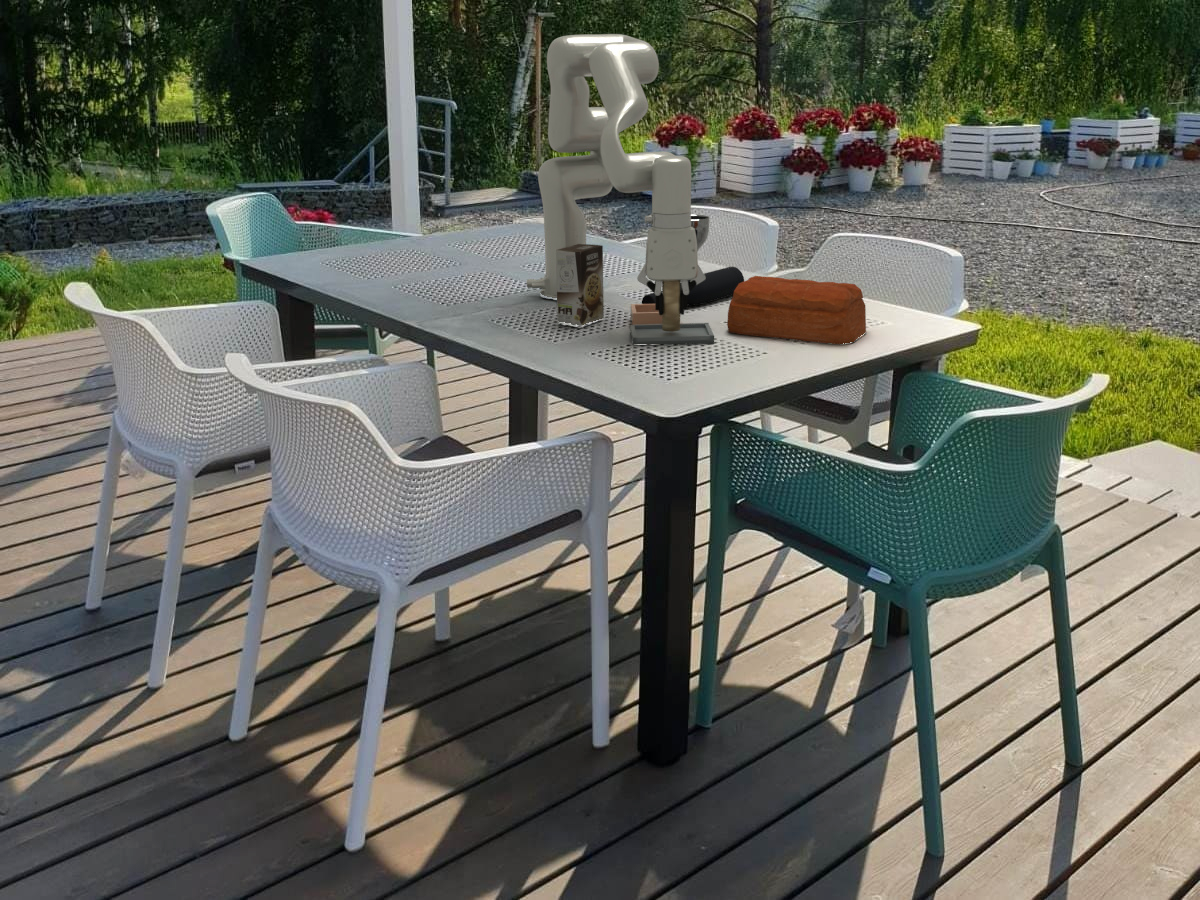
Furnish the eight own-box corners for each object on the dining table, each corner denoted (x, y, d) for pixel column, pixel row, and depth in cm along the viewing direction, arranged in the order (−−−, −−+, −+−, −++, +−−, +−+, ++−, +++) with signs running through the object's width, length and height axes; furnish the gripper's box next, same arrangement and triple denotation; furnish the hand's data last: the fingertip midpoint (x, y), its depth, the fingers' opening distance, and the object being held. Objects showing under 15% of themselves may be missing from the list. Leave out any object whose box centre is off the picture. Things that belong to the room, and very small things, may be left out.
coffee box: (582, 329, 257) (580, 251, 252) (556, 325, 260) (554, 249, 255) (605, 320, 264) (604, 244, 259) (580, 316, 268) (578, 242, 262)
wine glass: (672, 280, 302) (672, 219, 297) (682, 274, 309) (682, 214, 304) (703, 282, 299) (703, 220, 294) (712, 276, 306) (713, 215, 301)
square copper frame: (633, 328, 256) (632, 313, 255) (630, 318, 265) (630, 304, 264) (674, 327, 257) (674, 312, 256) (670, 318, 265) (671, 303, 264)
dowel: (662, 331, 246) (663, 277, 242) (661, 327, 250) (661, 273, 246) (681, 331, 246) (681, 276, 243) (679, 327, 250) (679, 273, 246)
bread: (847, 348, 239) (850, 294, 235) (720, 335, 251) (721, 283, 247) (871, 331, 252) (874, 279, 248) (749, 318, 264) (750, 269, 260)
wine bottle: (749, 285, 283) (664, 309, 262) (731, 299, 287) (646, 323, 267) (735, 261, 283) (649, 283, 263) (718, 275, 288) (632, 298, 268)
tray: (633, 345, 243) (633, 337, 243) (630, 332, 253) (630, 324, 253) (714, 343, 243) (714, 335, 243) (708, 330, 254) (708, 322, 253)
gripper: (629, 225, 237) (630, 318, 243) (716, 223, 237) (714, 316, 243) (628, 219, 244) (629, 310, 250) (711, 217, 244) (710, 308, 251)
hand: (671, 312), depth 247 cm, fingers closed on dowel, 3 cm apart
